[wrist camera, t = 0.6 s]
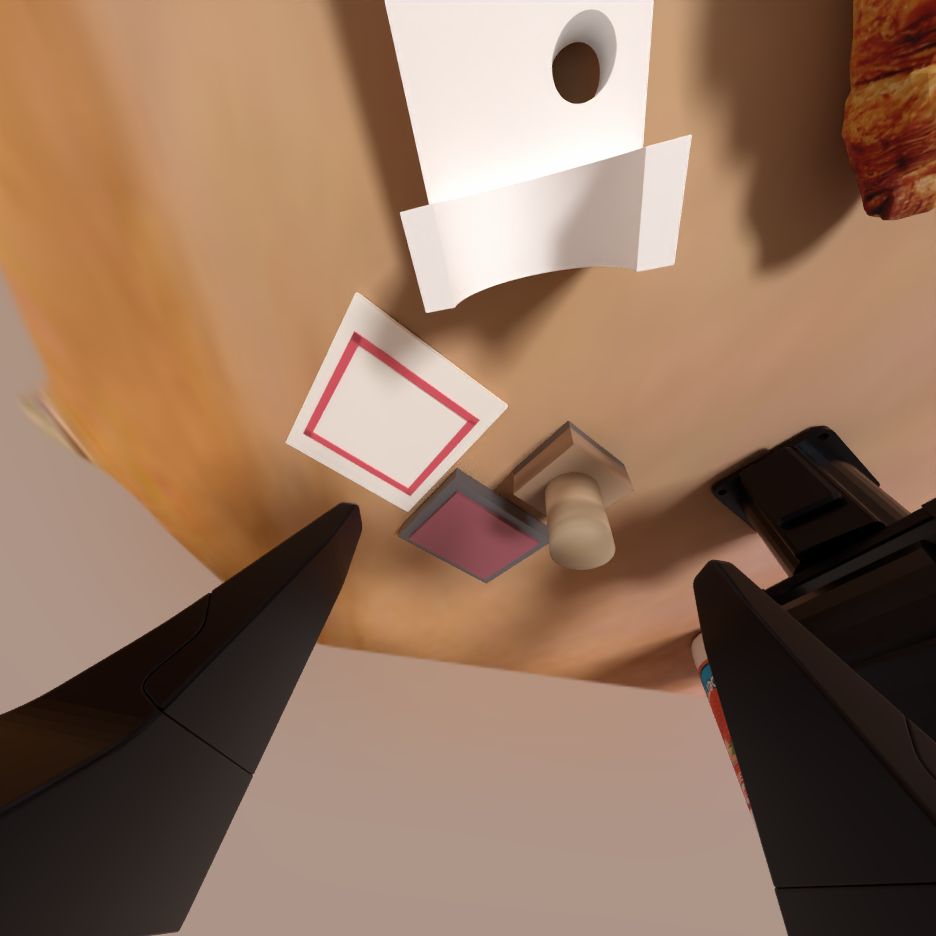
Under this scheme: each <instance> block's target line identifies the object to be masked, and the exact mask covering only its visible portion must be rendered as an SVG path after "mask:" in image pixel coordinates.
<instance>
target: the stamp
mask: <svg viewBox="0 0 936 936" xmlns="http://www.w3.org/2000/svg"><path fill="white" fill-rule="evenodd" d="M632 491H634V489H633V487H632V484H631V482H630V479H629V476H628V474H627V471H626V469H625V466H624V464H623V463H622V462H620V461H619V460H618V459H617V458H615V457H614V456H613V455H611V454H610V453H609V452H608V451H606V450H605V449H604V448H603V447H601V446H600V445H599V444H597V443H596V442H595V441H594V440H592V439H591V438H590V437H589V436H587V435H586V434H585V433H583V432H582V431H581V430H580V429H578V428H577V427H576V426H575V425H573V424H572V423H571V422H569V421H568V422H567V423H566V424H564V425H563V426H562V427H561V428H560V429H559V430H558V431H556V432H555V433H554V434H553V435H552V436H551V437H550V438H549V439H547V440H546V441H545V442H544V443H543V444H542V445H541V446H539V447H538V448H537V449H536V450H535V451H534V452H533V453H532V454H530V455H529V456H528V457H527V458H526V459H525V460H524V461H522V462H521V463H520V464H519V465H518V466H517V467H516V468H515V469H514V479H513V495H515V496H516V497H518V498H519V499H521V500H522V501H524V502H526V503H527V504H529V505H530V506H532V507H533V508H535V509H536V510H538V511H539V512H541V513H542V514H544V515H545V516H547V526H548V537H549V549H550V555H551V557H552V559H553V560H554V561H555V562H556V563H557V564H559V565H561V566H563V567H565V568H569V569H574V570H588V569H593V568H597V567H599V566H602V565H604V564H605V563H607V562H608V561H609V560H610V559H611V558H612V557H613V556H614V554H615V544H614V540H613V536H612V533H611V529H610V525H609V522H608V518H607V514H606V511H605V509H606V508H608V507H609V506H611V505H612V504H614V503H615V502H617V501H618V500H620V499H622V498H623V497H625V496H626V495H628V494H629V493H631V492H632Z"/></svg>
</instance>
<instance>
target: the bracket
mask: <svg viewBox="0 0 936 936" xmlns="http://www.w3.org/2000/svg"><path fill="white" fill-rule="evenodd" d="M653 3H654V0H385V5H386V10H387V14H388V19H389V23H390V28H391V32H392V37H393V42H394V46H395V51H396V55H397V60H398V65H399V69H400V74H401V78H402V83H403V87H404V92H405V97H406V101H407V106H408V110H409V115H410V119H411V124H412V129H413V133H414V138H415V142H416V147H417V151H418V156H419V161H420V165H421V170H422V174H423V179H424V184H425V188H426V193H427V197H428V202H429V205H426V206H422V207H418V208H414V209H411V210H407V211H403V212H400V216H401V220H402V223H403V227H404V231H405V235H406V239H407V242H408V246H409V250H410V254H411V258H412V261H413V265H414V269H415V273H416V277H417V281H418V284H419V288H420V292H421V296H422V300H423V303H424V307H425V311H426V313H429V312H434V311H440V310H445V309H450V308H455V307H456V305H457V304H458V303H460V302H461V301H462V300H464V299H465V298H467V297H469V296H471V295H473V294H475V293H477V292H479V291H482V290H484V289H487V288H489V287H492V286H495V285H498V284H501V283H505V282H508V281H511V280H515V279H519V278H523V277H527V276H532V275H536V274H541V273H547V272H552V271H558V270H565V269H573V268H583V267H621V268H627V269H631V270H634V271H636V272H639V271H644V270H649V269H654V268H659V267H664V266H670V265H674V262H675V255H676V248H677V240H678V233H679V226H680V218H681V211H682V203H683V196H684V189H685V181H686V174H687V167H688V159H689V152H690V144H691V137H692V134H691V135H688V136H684V137H680V138H676V139H673V140H669V141H665V142H661V143H658V144H654V145H650V146H646V147H644V148H643V138H644V124H645V111H646V97H647V84H648V70H649V57H650V44H651V30H652V17H653ZM574 42H583V43H586V44H588V45H589V46H590V47H591V48H592V49H593V50H594V51H595V53H596V55H597V58H598V61H599V66H600V79H599V85H598V88H597V92H596V94H595V96H594V98H592V99H591V100H589V101H587V102H585V103H581V104H573V103H570V102H568V101H566V100H564V99H563V98H562V97H561V96H560V94H559V93H558V91H557V89H556V87H555V84H554V81H553V76H552V63H553V61H554V59H555V57H556V56H557V54H558V53H559V52H560V51H561V50H562V49H563V48H564V47H566V46H567V45H569V44H571V43H574Z"/></svg>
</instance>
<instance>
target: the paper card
mask: <svg viewBox="0 0 936 936" xmlns="http://www.w3.org/2000/svg"><path fill="white" fill-rule="evenodd" d="M507 408H508V405H507V404H506V403H505V402H503V401H502V400H501V399H499V398H498V397H497V396H495V395H494V394H493V393H491V392H490V391H489V390H487V389H486V388H485V387H483V386H482V385H481V384H479V383H478V382H477V381H475V380H474V379H473V378H471V377H470V376H469V375H467V374H466V373H465V372H463V371H462V370H461V369H459V368H458V367H457V366H455V365H454V364H453V363H451V362H450V361H449V360H447V359H446V358H445V357H443V356H442V355H441V354H439V353H438V352H437V351H435V350H434V349H433V348H431V347H430V346H429V345H427V344H426V343H425V342H423V341H422V340H421V339H419V338H418V337H417V336H415V335H414V334H413V333H411V332H410V331H409V330H407V329H406V328H405V327H403V326H402V325H401V324H399V323H398V322H397V321H395V320H394V319H393V318H391V317H390V316H389V315H387V314H386V313H385V312H383V311H382V310H381V309H379V308H378V307H377V306H375V305H374V304H373V303H372V302H370V301H369V300H368V299H366V298H365V297H364V296H362V295H361V294H360V293H358V292H357V293H355V295H354V297H353V300H352V302H351V304H350V306H349V308H348V310H347V312H346V315H345V317H344V319H343V321H342V323H341V325H340V327H339V330H338V332H337V334H336V336H335V338H334V340H333V342H332V344H331V347H330V349H329V351H328V353H327V355H326V357H325V359H324V362H323V364H322V366H321V368H320V370H319V372H318V374H317V377H316V379H315V381H314V383H313V385H312V387H311V389H310V392H309V394H308V396H307V398H306V400H305V402H304V404H303V407H302V409H301V411H300V413H299V415H298V417H297V419H296V422H295V424H294V426H293V428H292V430H291V432H290V434H289V436H288V439H287V441H286V444H288V445H290V446H292V447H293V448H295V449H297V450H299V451H301V452H302V453H304V454H306V455H308V456H309V457H311V458H313V459H315V460H316V461H318V462H320V463H322V464H324V465H325V466H327V467H329V468H331V469H332V470H334V471H336V472H338V473H339V474H341V475H343V476H345V477H346V478H348V479H350V480H352V481H354V482H355V483H357V484H359V485H361V486H362V487H364V488H366V489H368V490H369V491H371V492H373V493H375V494H376V495H378V496H380V497H382V498H384V499H385V500H387V501H389V502H391V503H392V504H394V505H396V506H398V507H399V508H401V509H403V510H405V511H407V512H408V511H409V510H410V509H411V508H412V507H413V506H414V505H415V504H416V503H417V502H418V501H419V500H420V499H421V498H422V497H423V496H424V495H425V494H426V493H427V492H428V490H429V489H430V488H431V487H432V486H433V485H434V484H435V483H436V482H437V481H438V480H439V479H440V478H441V477H442V476H443V475H444V474H445V473H446V472H447V471H448V469H449V468H450V467H451V466H452V465H453V464H454V463H455V462H456V461H457V460H458V459H459V458H460V457H461V456H462V455H463V454H464V453H465V452H466V451H467V450H468V449H469V447H470V446H471V445H472V444H473V443H474V442H475V441H476V440H477V439H478V438H479V437H480V436H481V435H482V434H483V433H484V432H485V431H486V430H487V429H488V428H489V426H490V425H491V424H492V423H493V422H494V421H495V420H496V419H497V418H498V417H499V416H500V415H501V414H502V413H503V412H504V411H505V410H506V409H507Z"/></svg>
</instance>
